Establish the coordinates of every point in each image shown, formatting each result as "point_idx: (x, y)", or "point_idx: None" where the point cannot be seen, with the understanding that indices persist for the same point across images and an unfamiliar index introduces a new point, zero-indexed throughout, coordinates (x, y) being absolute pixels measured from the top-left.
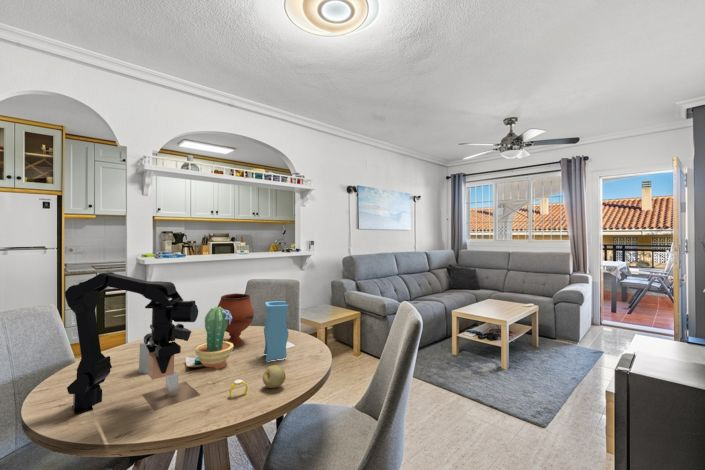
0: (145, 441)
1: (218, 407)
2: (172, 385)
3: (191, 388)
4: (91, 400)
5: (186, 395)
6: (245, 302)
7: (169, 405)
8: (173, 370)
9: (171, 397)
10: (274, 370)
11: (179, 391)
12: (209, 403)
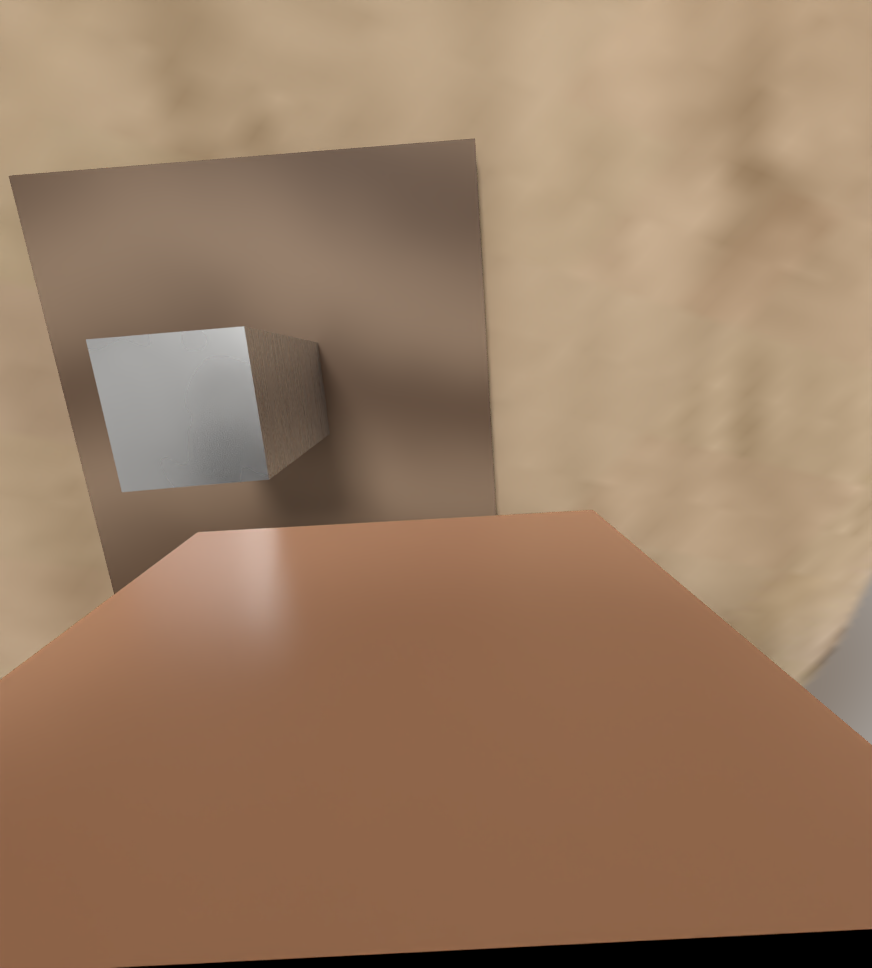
0: (820, 658)
1: (787, 70)
2: (298, 406)
3: (246, 176)
4: None
5: (389, 274)
6: None
7: (491, 456)
8: (628, 547)
9: (342, 407)
10: None
11: (249, 309)
12: (646, 118)
